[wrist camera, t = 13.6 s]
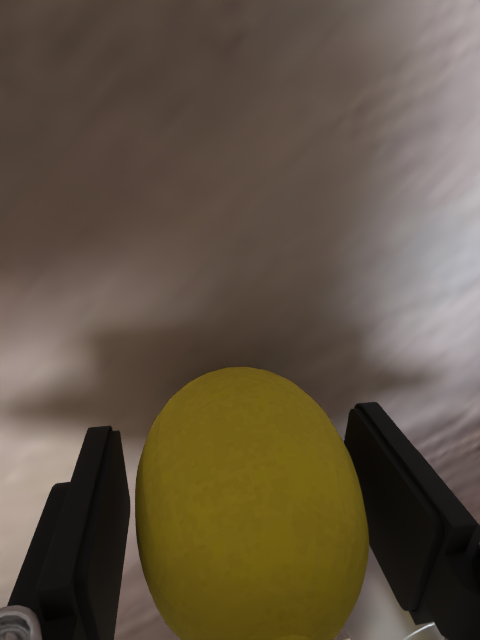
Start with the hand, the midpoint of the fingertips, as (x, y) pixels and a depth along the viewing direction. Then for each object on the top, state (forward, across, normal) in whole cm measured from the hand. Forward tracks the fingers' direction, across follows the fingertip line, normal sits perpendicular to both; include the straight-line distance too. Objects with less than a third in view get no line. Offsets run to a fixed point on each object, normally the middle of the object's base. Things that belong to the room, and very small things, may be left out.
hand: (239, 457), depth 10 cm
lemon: (+3, 0, 0) cm, 3 cm away
